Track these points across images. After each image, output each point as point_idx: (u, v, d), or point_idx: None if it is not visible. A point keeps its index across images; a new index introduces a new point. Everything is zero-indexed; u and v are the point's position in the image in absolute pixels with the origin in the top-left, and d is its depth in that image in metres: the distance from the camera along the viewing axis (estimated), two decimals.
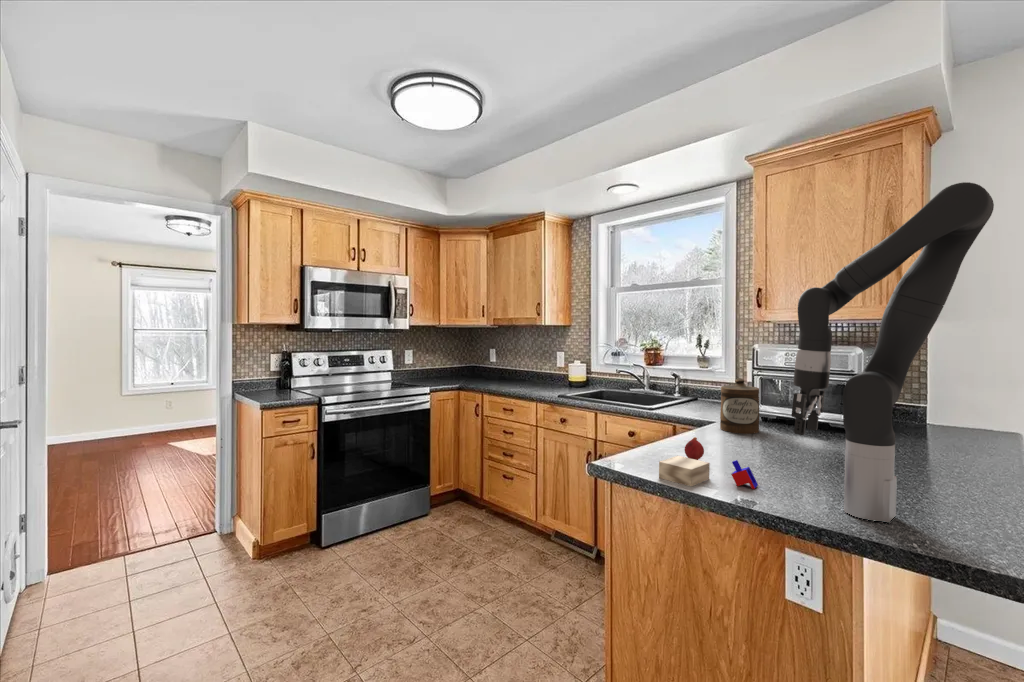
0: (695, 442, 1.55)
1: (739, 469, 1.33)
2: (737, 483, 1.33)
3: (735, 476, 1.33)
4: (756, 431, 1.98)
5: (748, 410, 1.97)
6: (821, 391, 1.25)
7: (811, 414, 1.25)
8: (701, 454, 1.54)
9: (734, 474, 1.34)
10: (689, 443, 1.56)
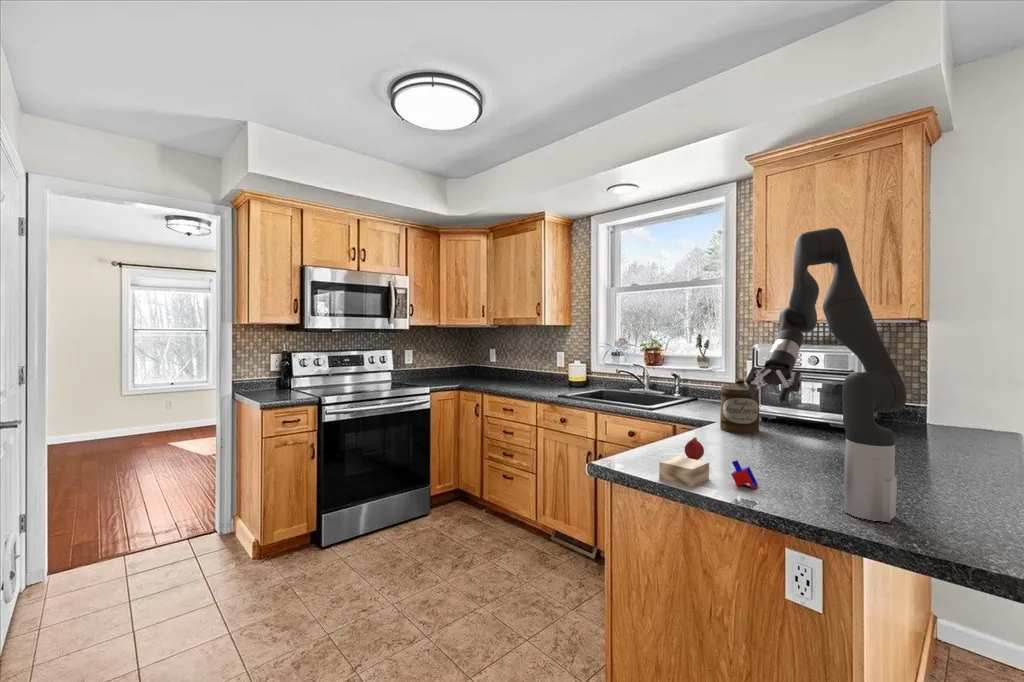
0: (695, 442, 1.55)
1: (739, 469, 1.33)
2: (737, 483, 1.33)
3: (735, 476, 1.33)
4: (756, 431, 1.98)
5: (748, 410, 1.97)
6: None
7: None
8: (701, 454, 1.54)
9: (734, 474, 1.34)
10: (689, 443, 1.56)
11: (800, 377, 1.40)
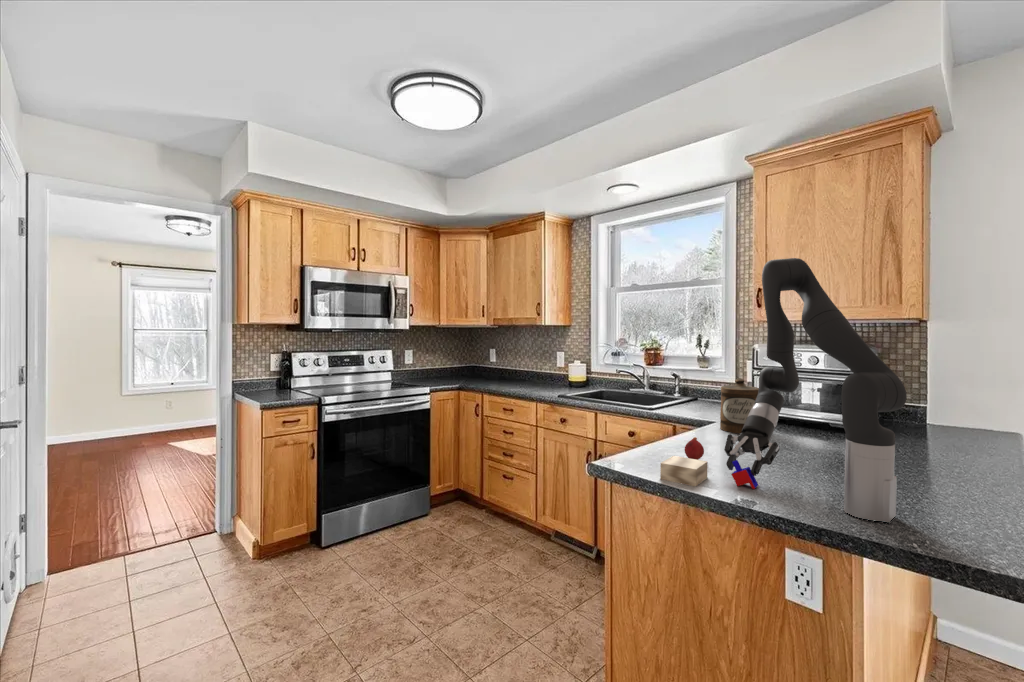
0: (695, 442, 1.55)
1: (739, 469, 1.33)
2: (737, 483, 1.33)
3: (735, 476, 1.33)
4: None
5: (748, 410, 1.97)
6: None
7: None
8: (701, 454, 1.54)
9: (734, 474, 1.33)
10: (689, 443, 1.56)
11: (776, 449, 1.31)
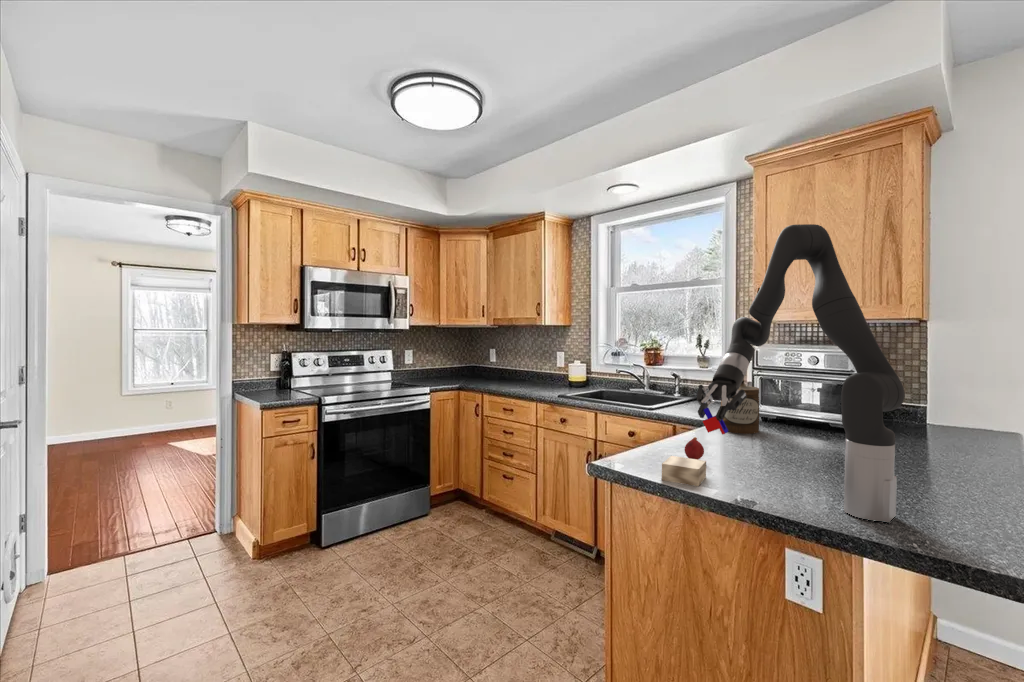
0: (695, 442, 1.55)
1: (710, 416, 1.36)
2: (708, 429, 1.36)
3: (706, 423, 1.36)
4: (756, 431, 1.98)
5: (748, 410, 1.97)
6: None
7: None
8: (701, 454, 1.54)
9: (705, 421, 1.37)
10: (689, 443, 1.56)
11: (742, 396, 1.34)
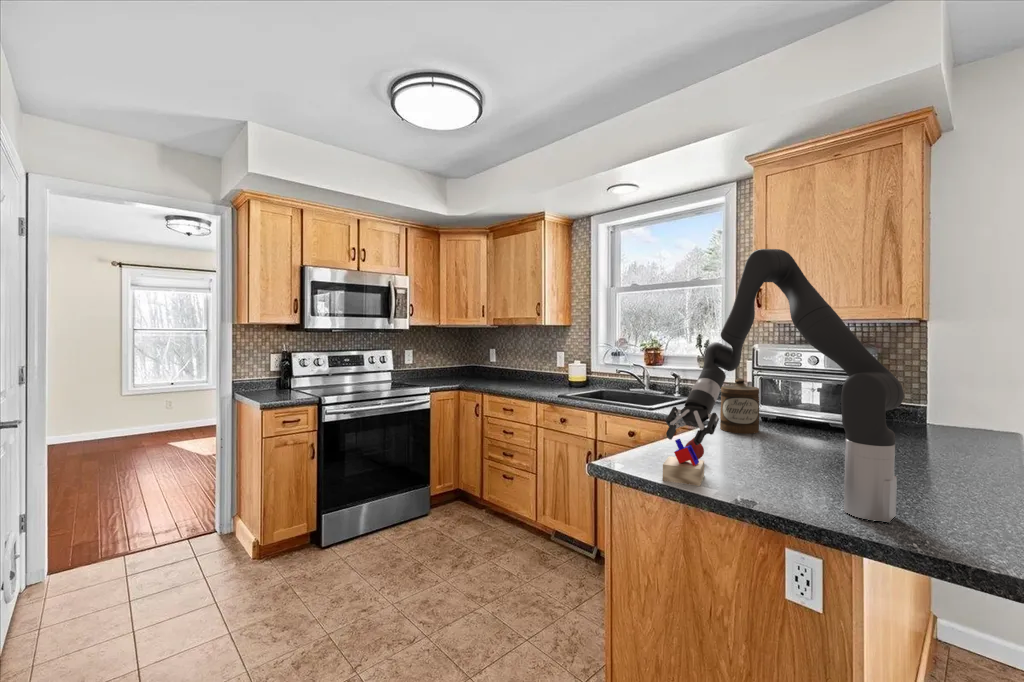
0: None
1: (681, 447, 1.39)
2: (679, 460, 1.39)
3: (677, 454, 1.39)
4: (756, 431, 1.98)
5: (748, 410, 1.97)
6: None
7: None
8: (701, 454, 1.54)
9: (676, 452, 1.39)
10: (689, 443, 1.56)
11: (716, 419, 1.37)
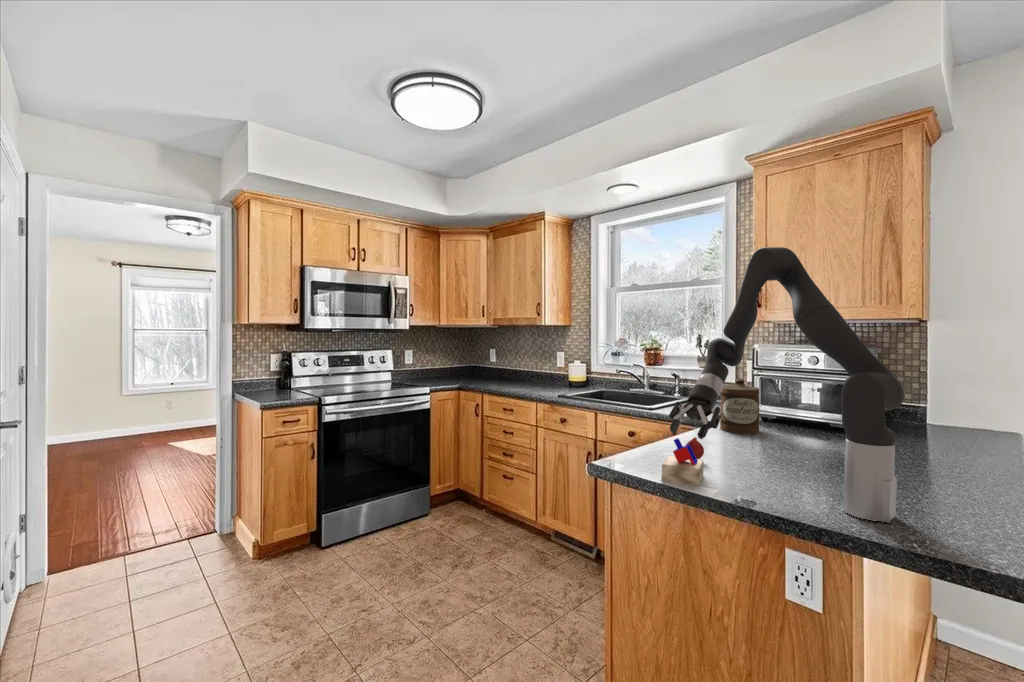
0: (695, 442, 1.55)
1: (680, 447, 1.39)
2: (678, 460, 1.39)
3: (676, 453, 1.39)
4: (756, 431, 1.98)
5: (748, 410, 1.97)
6: None
7: None
8: (701, 454, 1.54)
9: (675, 451, 1.39)
10: (689, 443, 1.56)
11: (719, 413, 1.38)
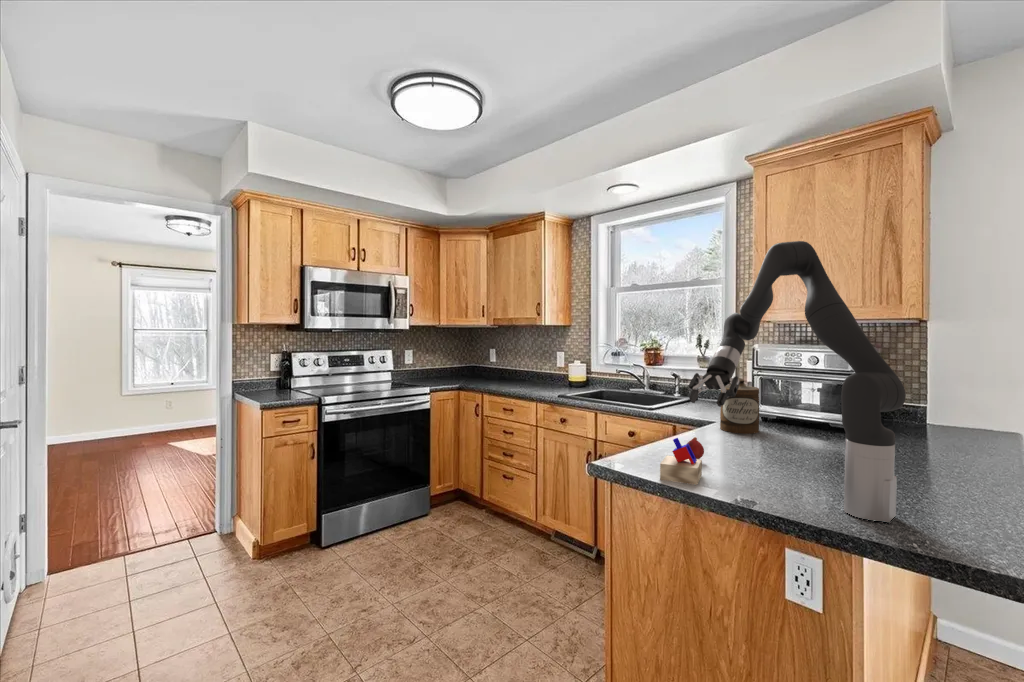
0: (695, 442, 1.55)
1: (679, 446, 1.40)
2: (678, 459, 1.40)
3: (676, 453, 1.40)
4: (756, 431, 1.98)
5: (748, 410, 1.97)
6: None
7: None
8: (701, 454, 1.54)
9: (675, 451, 1.40)
10: (689, 443, 1.56)
11: (737, 382, 1.45)
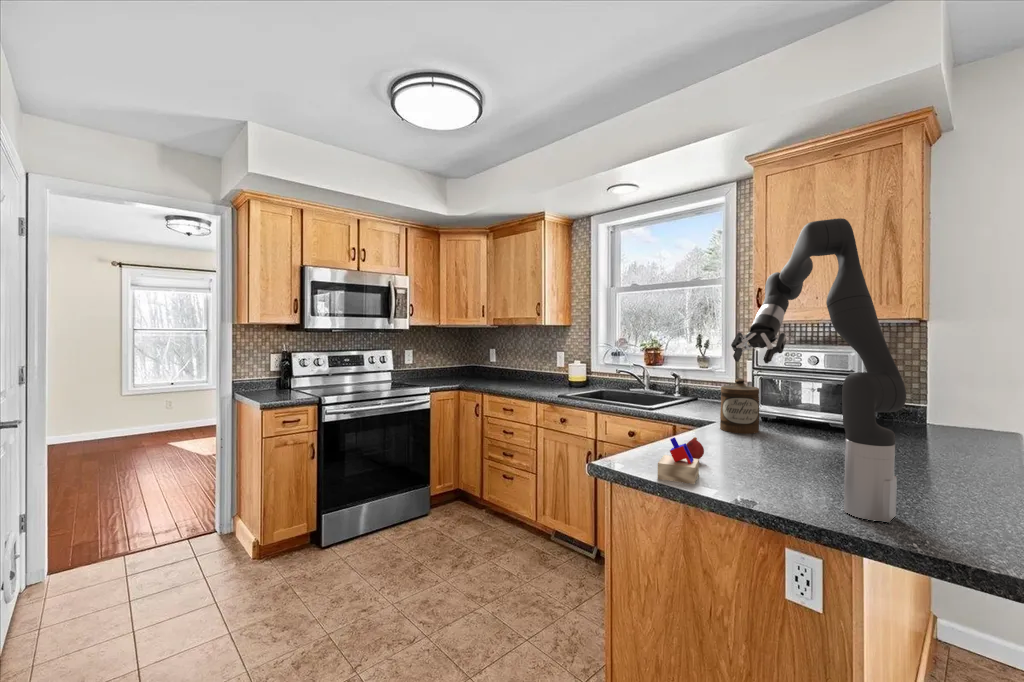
0: (695, 442, 1.55)
1: (677, 446, 1.40)
2: (675, 459, 1.40)
3: (673, 452, 1.40)
4: (756, 431, 1.98)
5: (748, 410, 1.97)
6: None
7: None
8: (701, 454, 1.54)
9: (672, 451, 1.40)
10: (689, 443, 1.56)
11: (784, 339, 1.42)
